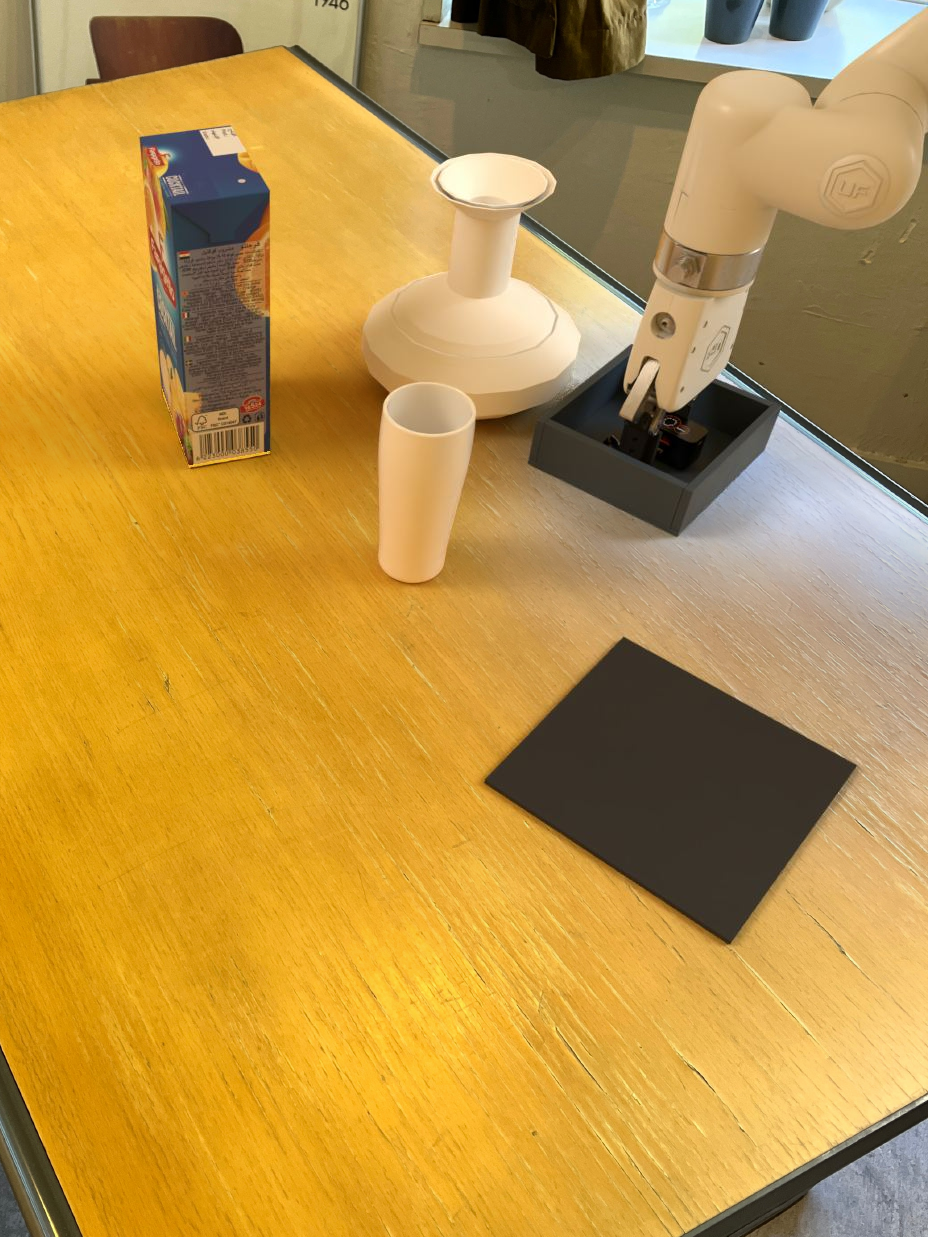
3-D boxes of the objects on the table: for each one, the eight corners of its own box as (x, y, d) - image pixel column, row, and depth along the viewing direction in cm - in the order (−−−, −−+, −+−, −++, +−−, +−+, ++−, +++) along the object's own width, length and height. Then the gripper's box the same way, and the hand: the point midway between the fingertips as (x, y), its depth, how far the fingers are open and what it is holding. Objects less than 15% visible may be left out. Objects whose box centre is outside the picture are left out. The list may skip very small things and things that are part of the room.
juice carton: (270, 455, 101) (270, 190, 83) (189, 469, 99) (170, 204, 81) (237, 381, 108) (230, 124, 90) (161, 393, 107) (139, 136, 89)
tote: (764, 450, 100) (782, 405, 97) (677, 537, 93) (692, 492, 89) (619, 387, 107) (631, 343, 103) (527, 463, 99) (536, 419, 96)
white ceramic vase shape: (614, 385, 107) (667, 185, 93) (469, 472, 99) (502, 266, 84) (460, 302, 117) (486, 109, 103) (316, 373, 109) (323, 175, 95)
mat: (855, 768, 77) (857, 764, 77) (729, 945, 68) (731, 942, 68) (622, 639, 85) (623, 636, 85) (483, 782, 76) (484, 779, 76)
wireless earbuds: (630, 426, 102) (638, 395, 99) (700, 460, 98) (711, 430, 96) (600, 448, 100) (608, 418, 97) (671, 484, 96) (681, 454, 94)
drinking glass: (358, 582, 90) (371, 426, 78) (380, 529, 94) (394, 373, 83) (442, 601, 88) (467, 444, 77) (460, 545, 92) (486, 389, 81)
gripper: (699, 316, 80) (636, 515, 93) (805, 229, 88) (733, 423, 102) (606, 280, 83) (559, 477, 97) (716, 199, 91) (658, 391, 105)
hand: (649, 447), depth 99 cm, fingers closed on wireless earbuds, 4 cm apart
